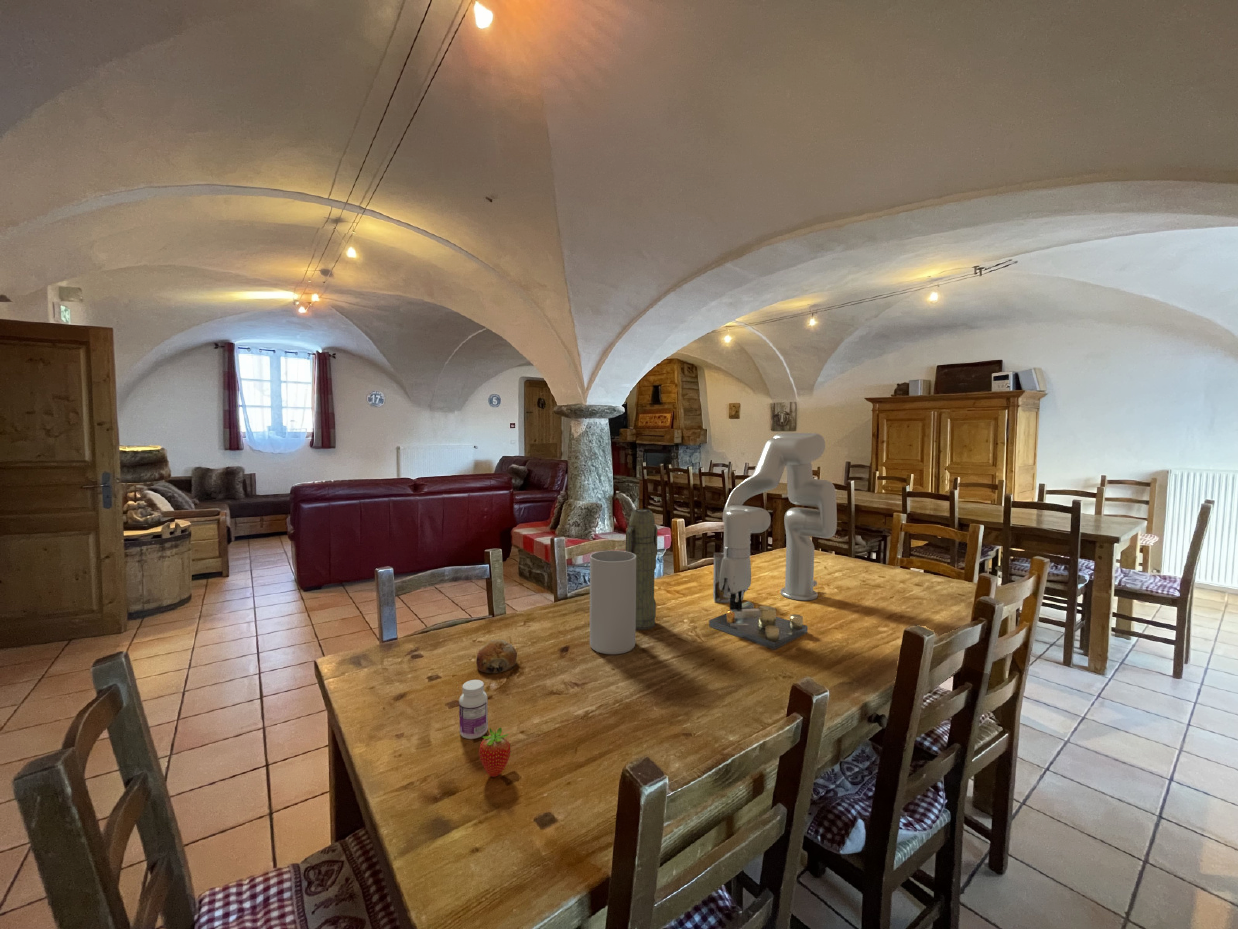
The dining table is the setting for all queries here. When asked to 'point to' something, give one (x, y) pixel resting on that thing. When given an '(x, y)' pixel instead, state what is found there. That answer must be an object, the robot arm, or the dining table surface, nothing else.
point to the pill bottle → (473, 710)
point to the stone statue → (643, 564)
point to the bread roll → (496, 657)
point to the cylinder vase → (612, 601)
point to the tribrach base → (762, 629)
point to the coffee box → (718, 580)
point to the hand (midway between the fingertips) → (735, 613)
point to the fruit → (494, 752)
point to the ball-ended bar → (754, 615)
